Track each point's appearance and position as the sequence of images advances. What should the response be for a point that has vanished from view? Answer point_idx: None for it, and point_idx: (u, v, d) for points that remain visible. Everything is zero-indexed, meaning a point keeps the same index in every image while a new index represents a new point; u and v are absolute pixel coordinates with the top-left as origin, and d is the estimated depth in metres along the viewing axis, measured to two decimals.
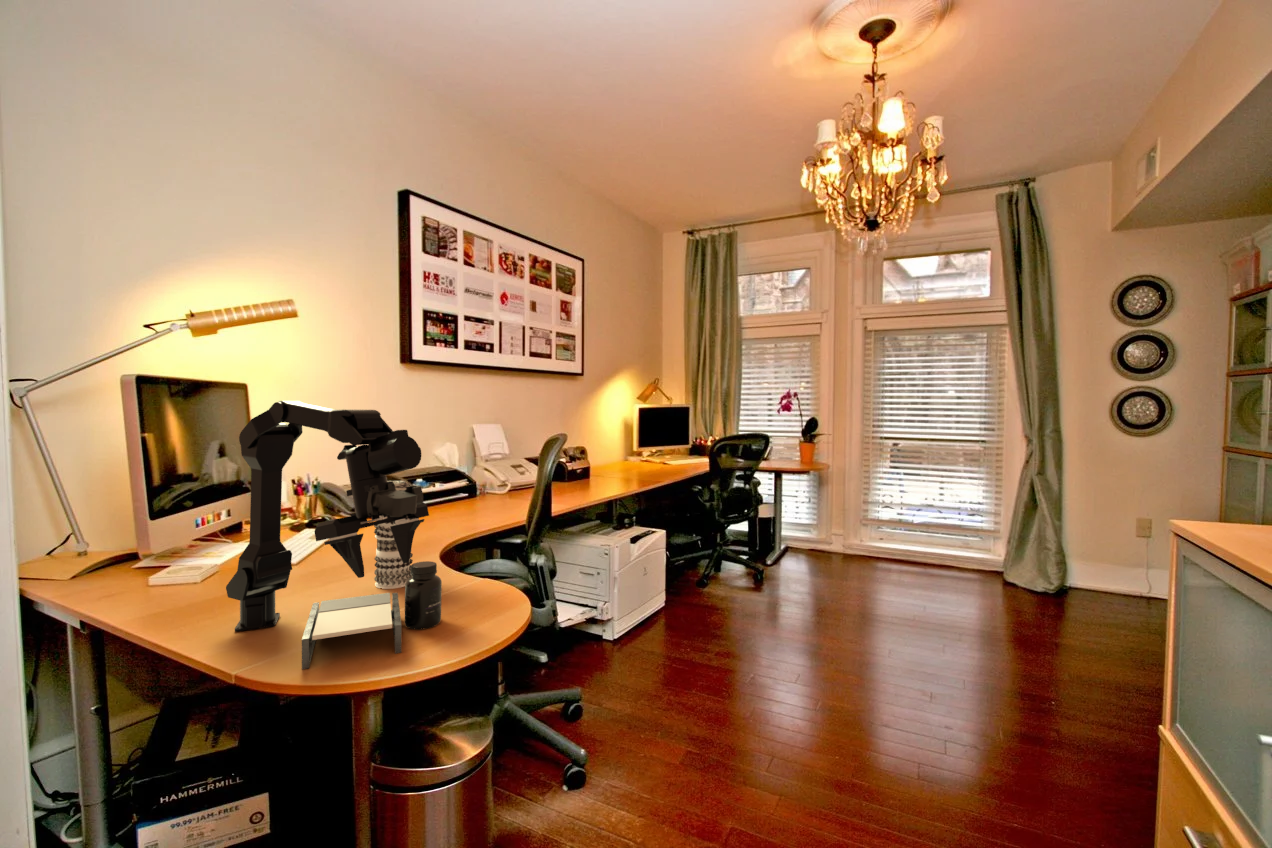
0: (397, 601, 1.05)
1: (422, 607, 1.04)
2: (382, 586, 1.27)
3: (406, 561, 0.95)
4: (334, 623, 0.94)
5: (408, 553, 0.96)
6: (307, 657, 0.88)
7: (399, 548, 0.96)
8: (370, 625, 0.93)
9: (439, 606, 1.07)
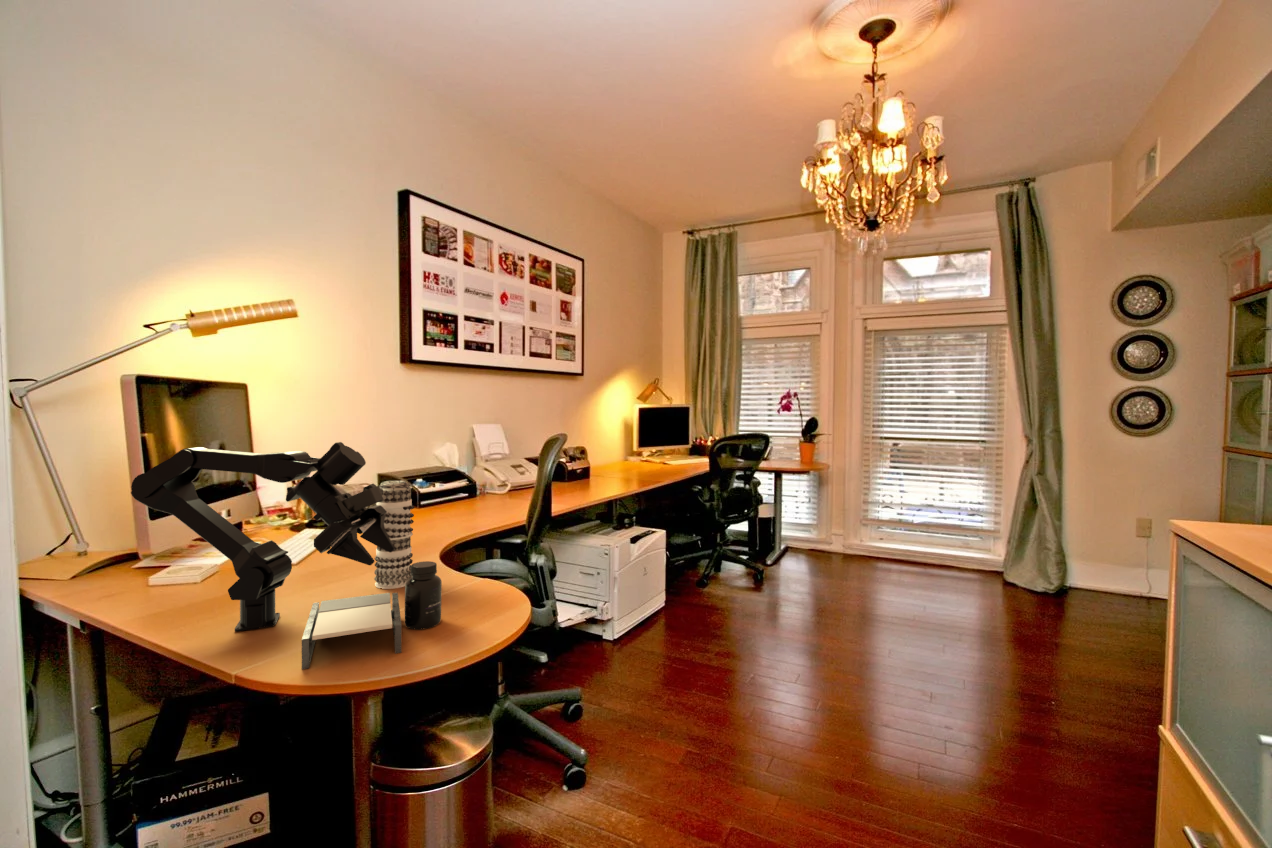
0: (397, 601, 1.05)
1: (422, 607, 1.04)
2: (382, 586, 1.27)
3: (392, 549, 1.11)
4: (334, 623, 0.94)
5: (390, 542, 1.11)
6: (307, 657, 0.88)
7: (379, 544, 1.11)
8: (370, 625, 0.93)
9: (439, 606, 1.07)
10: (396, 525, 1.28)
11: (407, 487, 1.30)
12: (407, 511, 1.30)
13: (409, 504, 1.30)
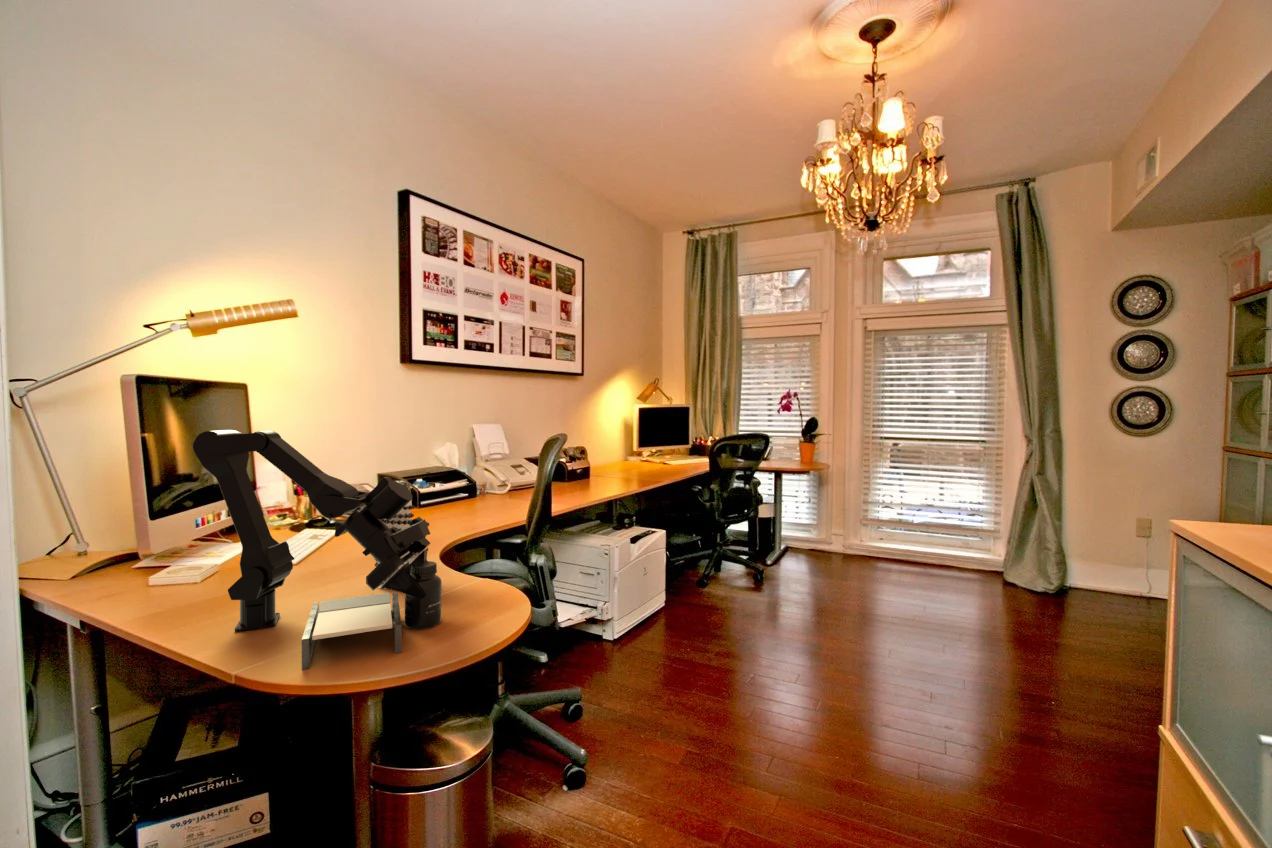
0: (397, 601, 1.05)
1: (422, 606, 1.04)
2: None
3: None
4: (334, 623, 0.94)
5: None
6: (307, 657, 0.88)
7: None
8: (370, 625, 0.93)
9: (439, 606, 1.07)
10: (396, 525, 1.28)
11: (407, 487, 1.30)
12: (407, 511, 1.30)
13: (409, 504, 1.30)
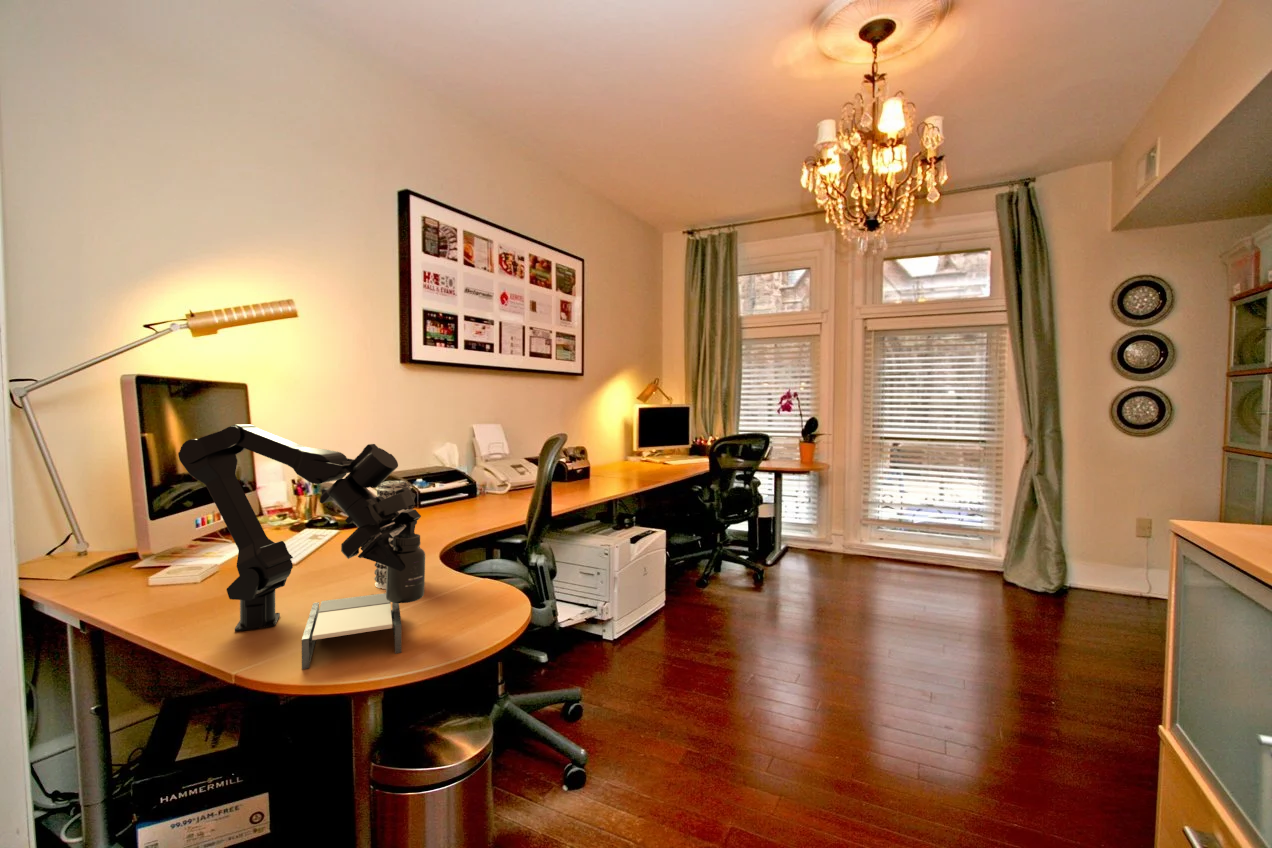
0: None
1: (401, 579, 0.99)
2: (382, 586, 1.27)
3: None
4: (334, 623, 0.94)
5: None
6: (307, 657, 0.88)
7: None
8: (370, 625, 0.93)
9: (421, 580, 1.02)
10: None
11: (407, 487, 1.30)
12: None
13: None
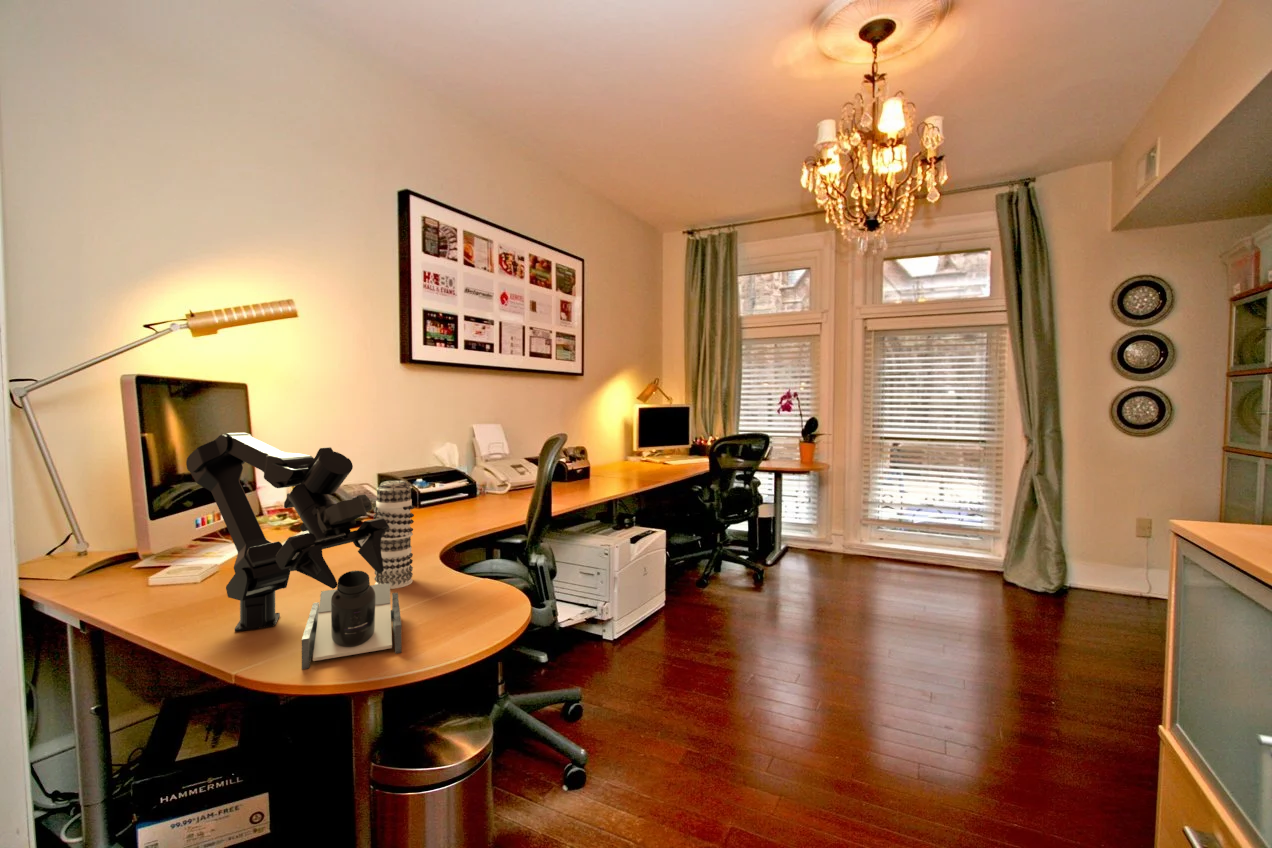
0: (397, 601, 1.05)
1: (340, 626, 0.90)
2: None
3: (381, 570, 0.98)
4: None
5: (380, 562, 0.98)
6: (307, 657, 0.88)
7: (371, 563, 0.99)
8: (370, 644, 0.93)
9: (365, 627, 0.92)
10: (396, 525, 1.28)
11: (407, 487, 1.30)
12: (407, 511, 1.30)
13: (409, 504, 1.30)
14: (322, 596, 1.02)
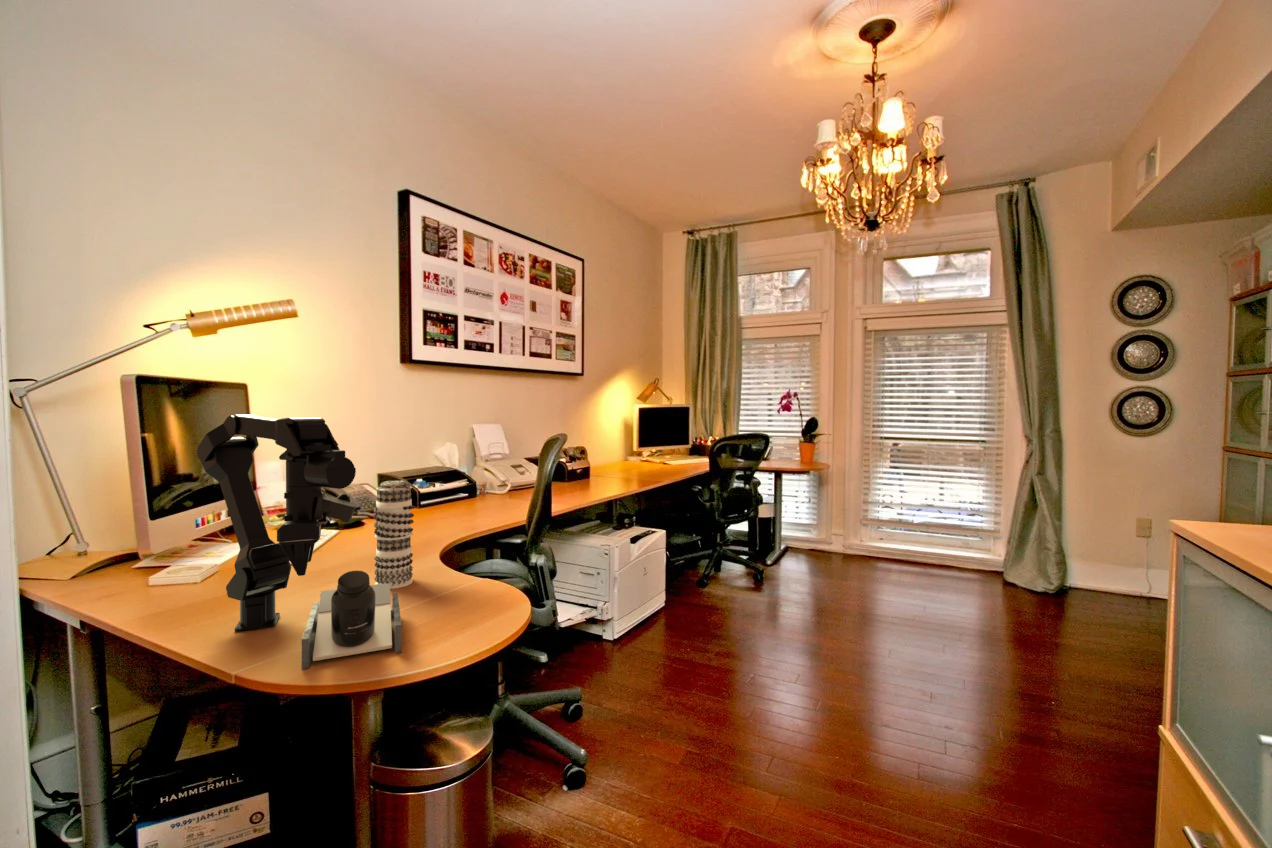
0: (397, 601, 1.05)
1: (340, 626, 0.90)
2: None
3: (309, 560, 1.04)
4: None
5: (312, 553, 1.04)
6: (307, 657, 0.88)
7: None
8: (370, 644, 0.93)
9: (365, 627, 0.92)
10: (396, 525, 1.28)
11: (407, 487, 1.30)
12: (407, 511, 1.30)
13: (409, 504, 1.30)
14: (322, 596, 1.02)
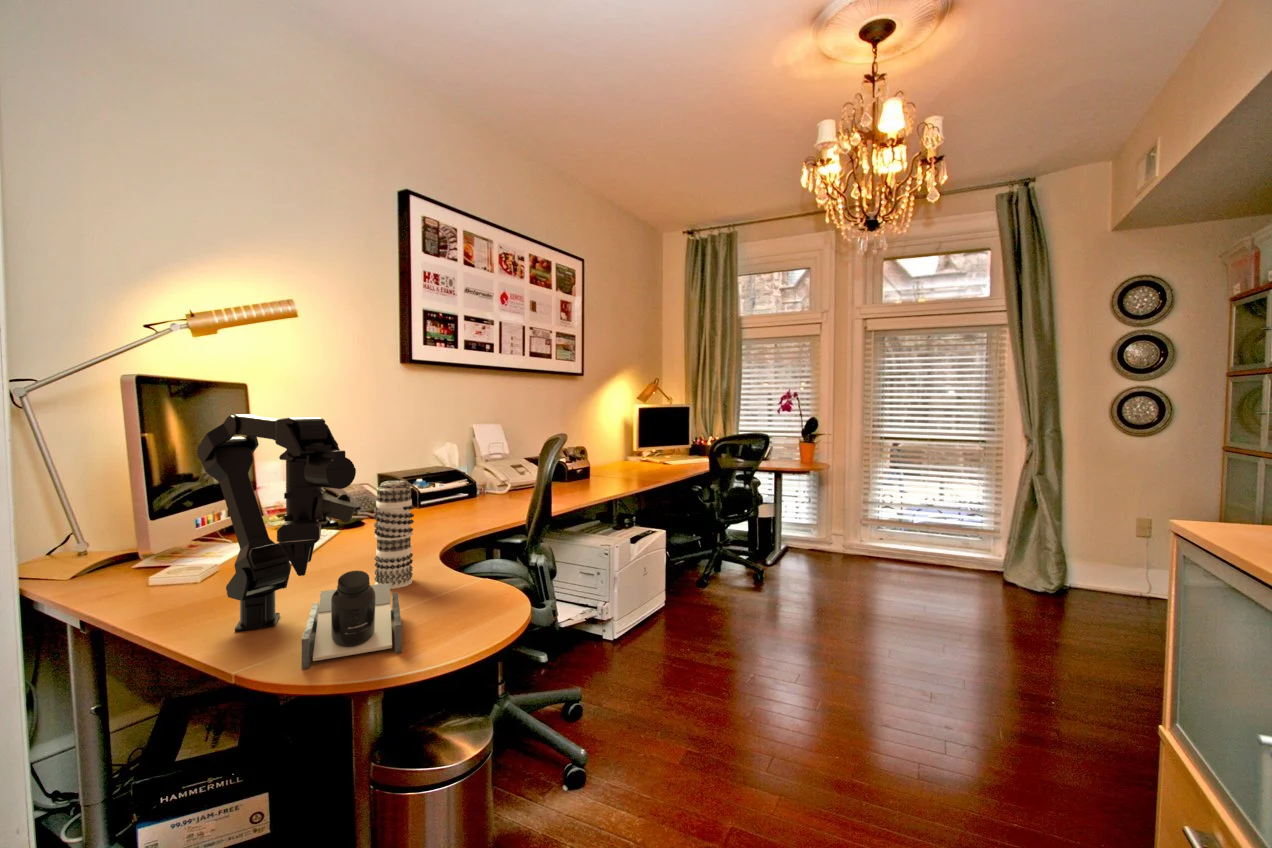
0: (397, 601, 1.05)
1: (340, 626, 0.90)
2: None
3: (309, 560, 1.04)
4: None
5: (312, 553, 1.04)
6: (307, 657, 0.88)
7: None
8: (370, 644, 0.93)
9: (365, 627, 0.92)
10: (396, 525, 1.28)
11: (407, 487, 1.30)
12: (407, 511, 1.30)
13: (409, 504, 1.30)
14: (322, 596, 1.02)
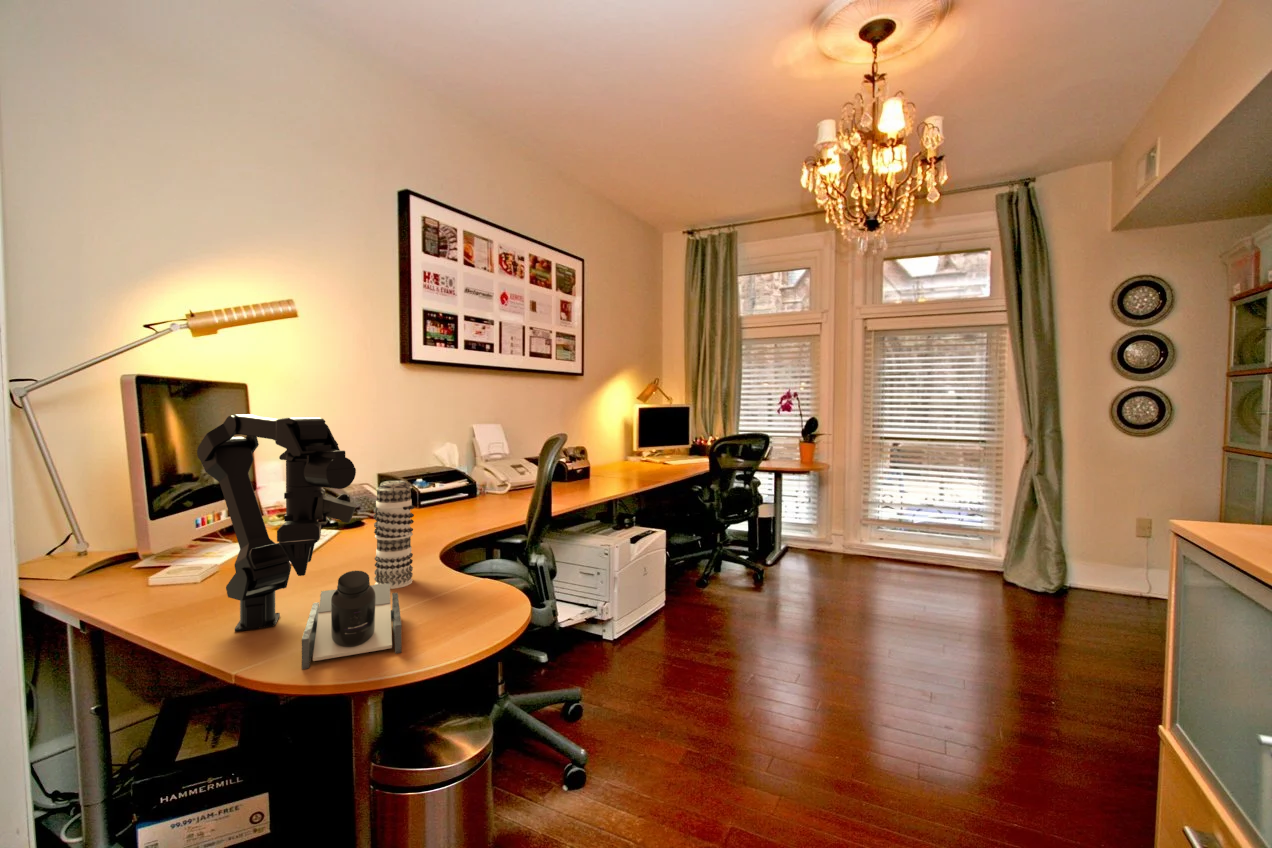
0: (397, 601, 1.05)
1: (340, 626, 0.90)
2: None
3: (309, 560, 1.04)
4: None
5: (312, 553, 1.04)
6: (307, 657, 0.88)
7: None
8: (370, 645, 0.93)
9: (365, 627, 0.92)
10: (396, 525, 1.28)
11: (407, 487, 1.30)
12: (407, 511, 1.30)
13: (409, 504, 1.30)
14: (322, 596, 1.02)
